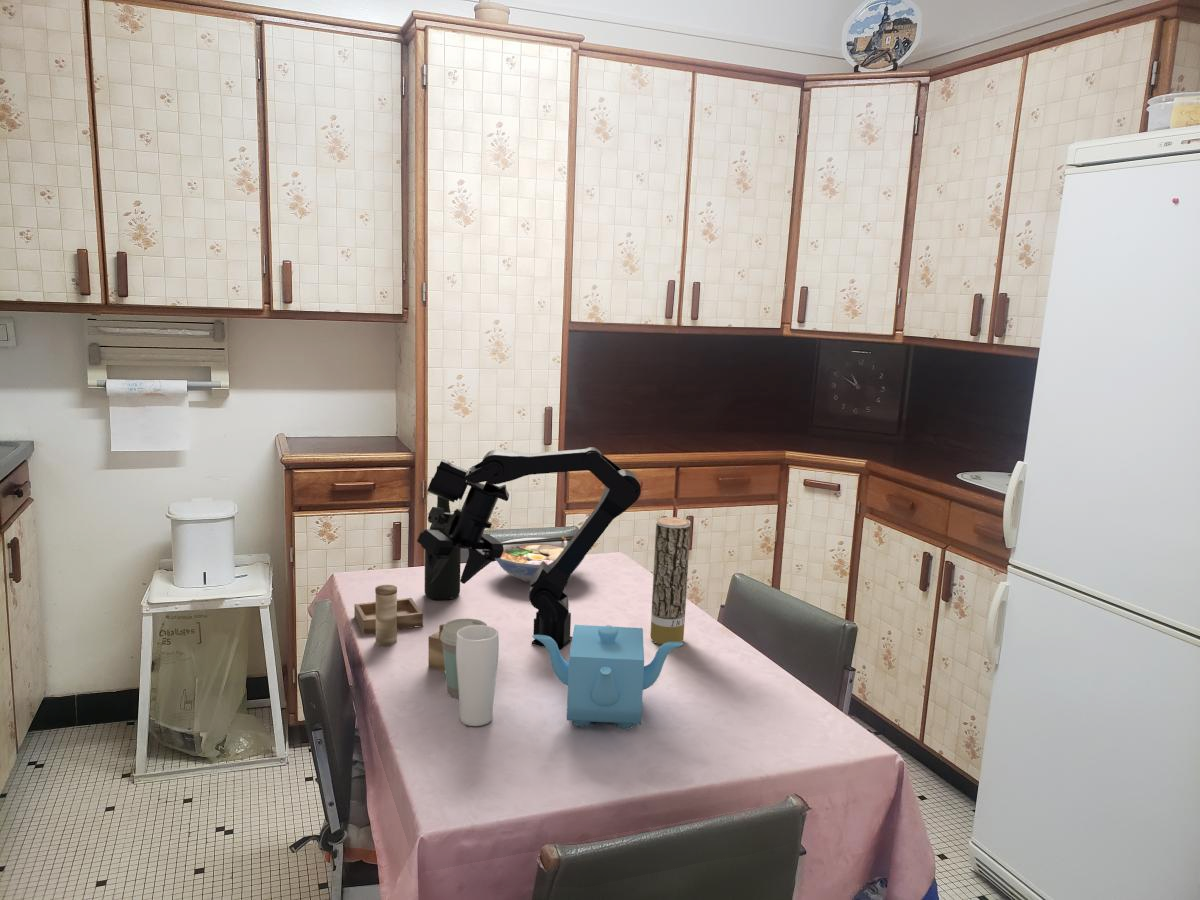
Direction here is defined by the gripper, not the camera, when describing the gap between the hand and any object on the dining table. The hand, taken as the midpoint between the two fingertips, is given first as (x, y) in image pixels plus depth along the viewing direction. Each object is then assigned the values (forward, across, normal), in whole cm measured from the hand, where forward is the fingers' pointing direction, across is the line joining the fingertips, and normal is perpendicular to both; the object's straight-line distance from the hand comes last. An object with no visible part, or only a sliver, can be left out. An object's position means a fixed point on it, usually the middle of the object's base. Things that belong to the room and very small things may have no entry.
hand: (445, 582), depth 174 cm
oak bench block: (+10, +5, +15) cm, 19 cm away
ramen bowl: (+5, -43, -10) cm, 45 cm away
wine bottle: (+13, -20, -17) cm, 29 cm away
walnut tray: (+16, -2, -12) cm, 20 cm away
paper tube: (-5, -32, +33) cm, 46 cm away
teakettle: (0, +1, +45) cm, 45 cm away
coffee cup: (+9, +10, +23) cm, 27 cm away
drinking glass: (+8, +16, +32) cm, 36 cm away
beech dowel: (+15, +5, -4) cm, 17 cm away
